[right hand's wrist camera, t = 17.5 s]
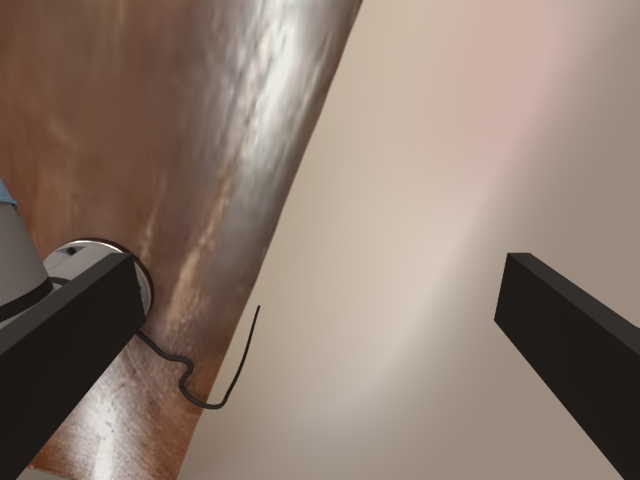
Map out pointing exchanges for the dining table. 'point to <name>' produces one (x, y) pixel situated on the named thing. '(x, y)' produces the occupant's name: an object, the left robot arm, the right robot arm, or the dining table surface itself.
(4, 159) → the dining table surface
